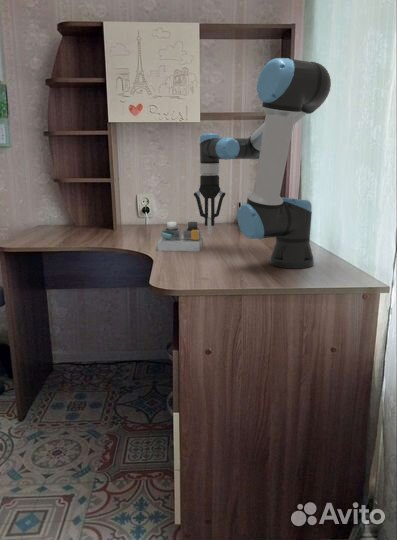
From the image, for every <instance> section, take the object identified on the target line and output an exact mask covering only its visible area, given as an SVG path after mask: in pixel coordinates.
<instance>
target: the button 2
mask: <svg viewBox="0 0 397 540" xmlns="http://www.w3.org/2000/svg"><path fill="white" fill-rule="evenodd" d="M187 228H188V230H197V228H198V221H188V222H187Z"/></svg>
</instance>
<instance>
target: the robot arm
mask: <svg viewBox="0 0 397 540" xmlns="http://www.w3.org/2000/svg"><path fill="white" fill-rule="evenodd" d="M331 82H332V80H331V76H330V73H329V71H328V70H327V68H326V67H325V66H323V65H322V64H321V63H319V62H316V61H307V60H299V59H293V58H288V57H287V58H285V57H279V58H278V57H276V58H272V59H271V60H269V61H267V63H266V65H264V66H263V68H262V70H261V71H260V73H259V76H258V79H257V84H256V92H257V96H258V99H259V100H260V101H261V102H262V106H261V108H262V109H263V111H264V112H265V119H264V122H263V123H262V124H260V126H259V127H258V128H257V129H256V130H255V131H254V132H253V133H252V134H251V135H250V136H249V137H245V138H242V137H241V138H240V137H239V138H234V137H221V138H220V134H218V133H202V134H201V135H200V140H199V161H200V163H199V173H200V176H199V179H200V180H199V184H200V185H199V188H198V190H197V191H195V192H194V193H193V196H194V198H195V200H196V204H197V208H198V213H199V215H200V217H202V218H204V226H205V227H207V231H206V232H207V235H212V233H213V232H212V230H213V227H214V226H215V218H217V217H219V216H220V212H221V207H222V205H223V200H224V197H225V196H226V194H227V193H226V192H225V191H222V190H221V187H220V175H219V174H220V160H258V161H257V168H256V173H255V181H254V184H253V185H254V186H253V190H252V191H251V193H249V194H248V195H247V199H246V203H244V204H241V205H240V207H239V208H238V209H237V218H236V219H237V224H238V227H239V229H240V232H241V233H242V235H243V236H244V237H246V238H247V239H248V240H262V239H268V238H269V239H270V238H275V244H274V245H273V248H272V251H271V254H270V257H269V264H270V265H272V266H274V267H278V268H282V269H306V268H307V269H308V268H311V267H312V266H314V263H315V260H314V259H315V258H314V254H313V251H312V247H311V243H310V242H311V241H310V240H311V228H312V227H311V226H312V225H311V224H312V213H313V212H312V203H311V202H310V200H307V199H298V198H290V197H281V190H282V185H283V181H284V176H285V175H284V174H285V171H286V164H287V160H288V155H289V150H290V145H291V139H292V135H293V130H294V125H296V123H298V122H299V121H300V120H301V119H302V118H303V117H305V116H306V115H310V114H313V113H314V112H315V111H316V110H317V109H319V108H320V107H321V106H322V105H323V104H324V103H325V101H326V100H327V98H328V96H329V94H330V91H331V87H332V86H331V85H332V83H331ZM218 194H219V195H218ZM217 196H219V200H218V204H217V209H216V208H215V207H216V206H215V202H216V200H215V199H216V198H217ZM201 197H203V199H204V209H203V205H202V200H201ZM209 199H210V201H211V202H210V217H209ZM215 209H216V211H215Z"/></svg>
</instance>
